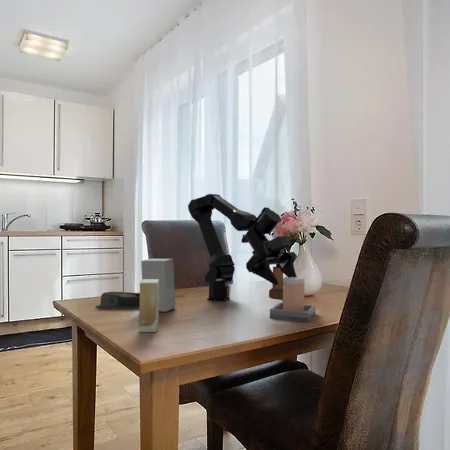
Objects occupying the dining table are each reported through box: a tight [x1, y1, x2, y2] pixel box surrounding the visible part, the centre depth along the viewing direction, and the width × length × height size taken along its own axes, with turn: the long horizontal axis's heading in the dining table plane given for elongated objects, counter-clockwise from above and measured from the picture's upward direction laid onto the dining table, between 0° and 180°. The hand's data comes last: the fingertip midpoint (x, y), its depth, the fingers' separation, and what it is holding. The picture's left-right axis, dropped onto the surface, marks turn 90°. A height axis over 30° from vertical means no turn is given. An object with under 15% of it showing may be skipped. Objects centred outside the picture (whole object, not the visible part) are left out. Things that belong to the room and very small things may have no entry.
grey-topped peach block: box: [282, 277, 305, 312], centre depth 113 cm, size 4×4×10 cm
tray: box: [269, 301, 316, 323], centre depth 113 cm, size 11×11×2 cm
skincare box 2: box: [138, 279, 160, 333], centre depth 97 cm, size 6×4×12 cm
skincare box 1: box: [140, 258, 176, 313], centre depth 119 cm, size 8×7×16 cm
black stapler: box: [95, 291, 140, 309], centre depth 122 cm, size 5×3×15 cm
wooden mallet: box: [268, 249, 284, 299], centre depth 144 cm, size 7×6×18 cm
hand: (287, 283), depth 115 cm, fingers open, 9 cm apart
